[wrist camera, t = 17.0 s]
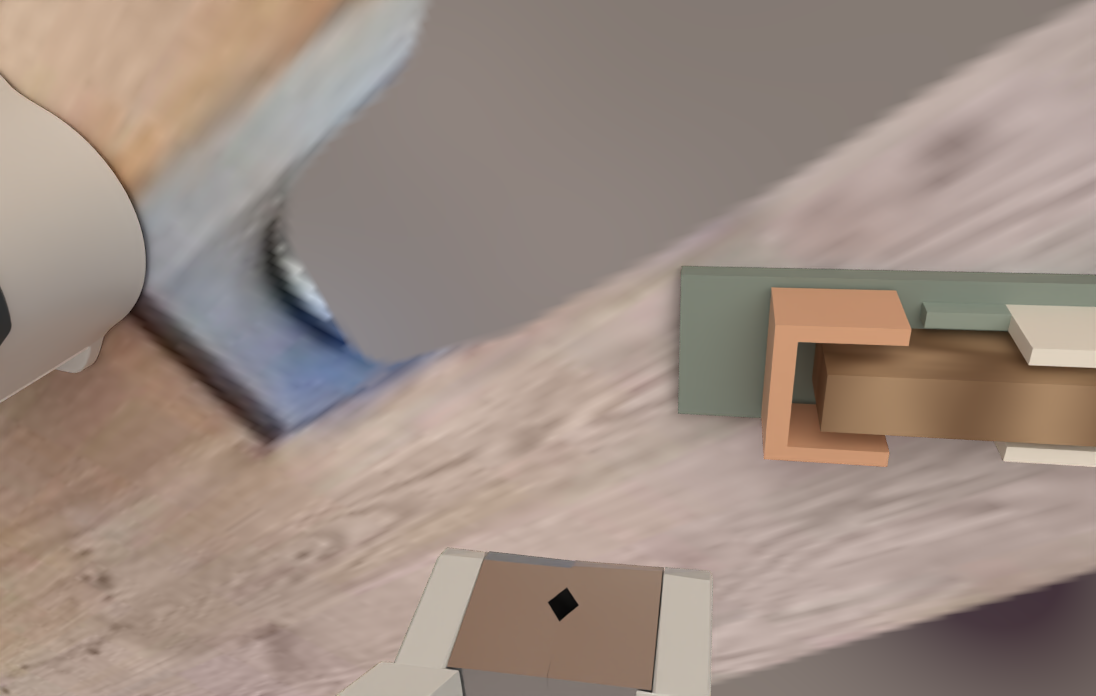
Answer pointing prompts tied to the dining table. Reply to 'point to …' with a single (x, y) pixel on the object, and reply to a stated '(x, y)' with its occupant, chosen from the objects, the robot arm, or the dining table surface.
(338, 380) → the dining table surface
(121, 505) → the dining table surface
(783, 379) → the cap
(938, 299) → the grey slotted holder
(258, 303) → the dining table surface
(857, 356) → the brown rectangular block
